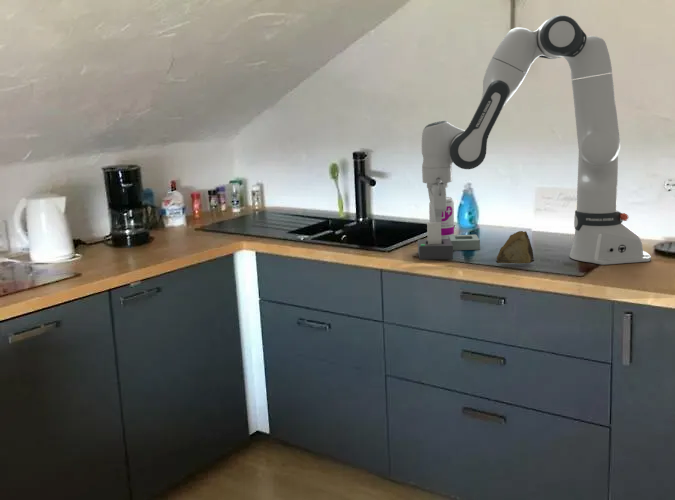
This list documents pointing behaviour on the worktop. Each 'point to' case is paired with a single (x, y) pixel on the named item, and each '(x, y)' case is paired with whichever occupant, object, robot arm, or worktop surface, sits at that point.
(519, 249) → the rock
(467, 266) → the worktop surface
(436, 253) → the port
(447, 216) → the supplement can
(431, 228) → the plug
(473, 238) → the block
